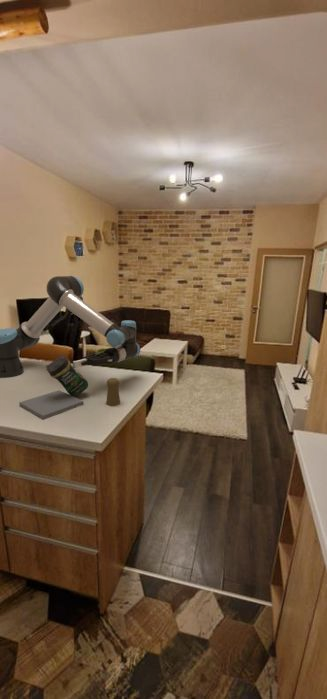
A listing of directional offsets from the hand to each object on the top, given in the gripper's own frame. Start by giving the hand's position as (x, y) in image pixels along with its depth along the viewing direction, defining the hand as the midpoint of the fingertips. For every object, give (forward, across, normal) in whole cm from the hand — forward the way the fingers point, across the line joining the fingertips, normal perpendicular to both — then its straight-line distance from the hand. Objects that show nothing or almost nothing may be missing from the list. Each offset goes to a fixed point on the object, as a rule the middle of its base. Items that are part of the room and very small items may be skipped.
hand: (73, 364), depth 133 cm
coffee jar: (-3, +1, -12) cm, 13 cm away
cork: (-8, -16, -16) cm, 24 cm away
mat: (+11, +1, -15) cm, 19 cm away
